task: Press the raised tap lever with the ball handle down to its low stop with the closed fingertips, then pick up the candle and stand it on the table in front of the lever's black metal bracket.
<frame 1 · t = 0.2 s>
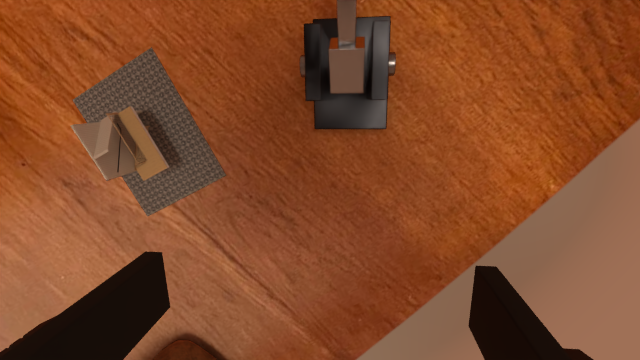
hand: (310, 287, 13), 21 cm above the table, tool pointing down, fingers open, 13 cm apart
bracket: (350, 76, 31), on the table
architectural model: (150, 137, 35), on the table
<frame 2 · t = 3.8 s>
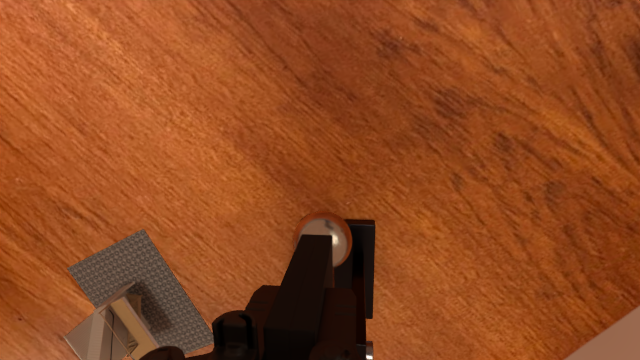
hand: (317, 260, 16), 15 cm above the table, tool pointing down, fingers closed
lever: (325, 299, 19), point 12 cm above the table, hinge at 12.0°
bracket: (337, 265, 32), on the table
architectural model: (143, 303, 36), on the table
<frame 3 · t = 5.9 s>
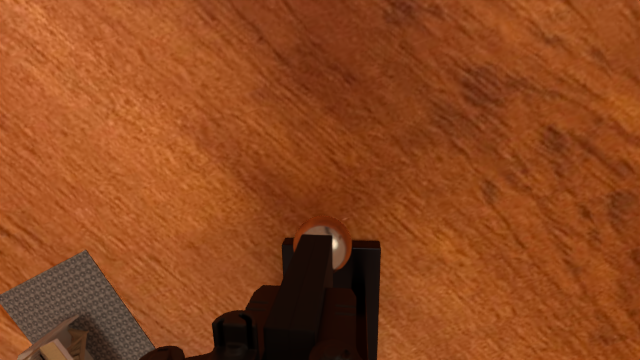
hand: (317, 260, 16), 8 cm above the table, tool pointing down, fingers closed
lever: (318, 334, 16), point 8 cm above the table, hinge at -35.2°, touching gripper
bracket: (332, 298, 25), on the table
architectural model: (91, 341, 29), on the table
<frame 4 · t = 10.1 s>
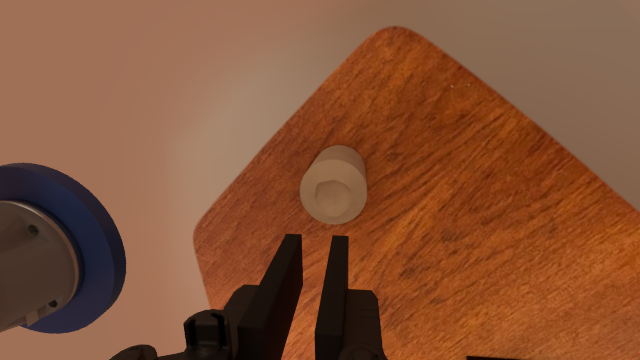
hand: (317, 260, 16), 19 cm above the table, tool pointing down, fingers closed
candle: (339, 169, 34), on the table
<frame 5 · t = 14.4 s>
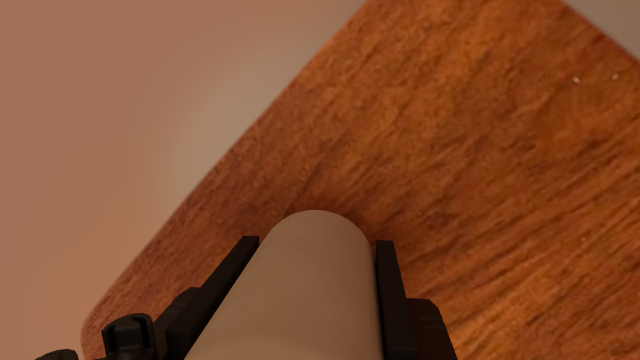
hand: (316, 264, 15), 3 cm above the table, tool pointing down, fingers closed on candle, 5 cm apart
candle: (317, 259, 16), point 2 cm above the table, touching gripper
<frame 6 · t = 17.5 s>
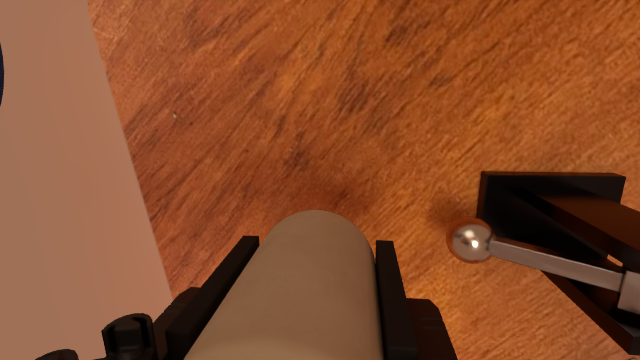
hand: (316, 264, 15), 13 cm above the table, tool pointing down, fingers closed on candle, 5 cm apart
candle: (317, 259, 16), point 13 cm above the table, touching gripper
lever: (548, 260, 19), point 8 cm above the table, hinge at -35.2°
bracket: (539, 213, 27), on the table
when the fingers open (0 cm above the table, at t = 20.6 s): candle stays where it is, on the table.
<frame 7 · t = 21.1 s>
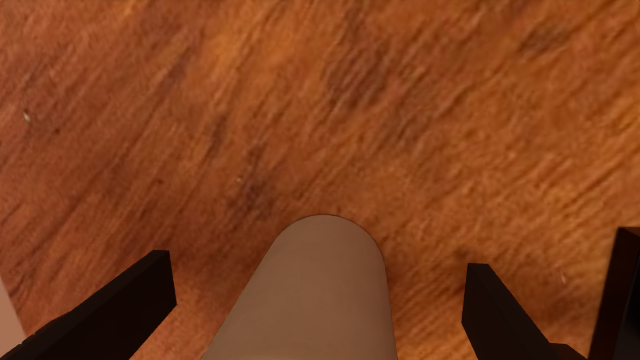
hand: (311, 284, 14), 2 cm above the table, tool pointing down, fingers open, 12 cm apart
candle: (326, 265, 15), on the table
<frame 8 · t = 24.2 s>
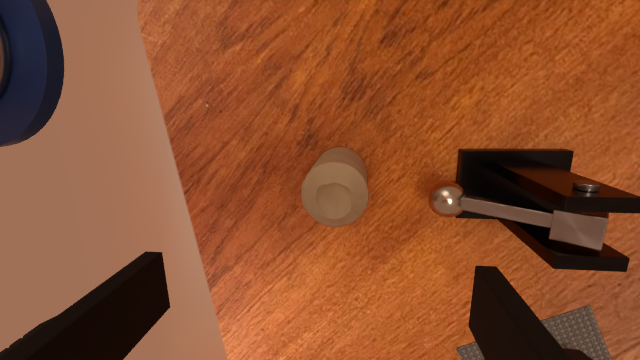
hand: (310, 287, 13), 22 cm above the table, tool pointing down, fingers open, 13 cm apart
candle: (340, 171, 34), on the table
lever: (503, 209, 25), point 8 cm above the table, hinge at -35.4°
bracket: (507, 183, 33), on the table
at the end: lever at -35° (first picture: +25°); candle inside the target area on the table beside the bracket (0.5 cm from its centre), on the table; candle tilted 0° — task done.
